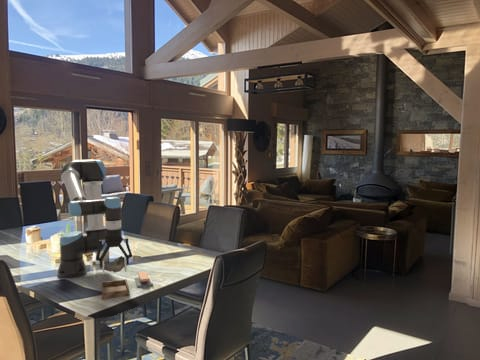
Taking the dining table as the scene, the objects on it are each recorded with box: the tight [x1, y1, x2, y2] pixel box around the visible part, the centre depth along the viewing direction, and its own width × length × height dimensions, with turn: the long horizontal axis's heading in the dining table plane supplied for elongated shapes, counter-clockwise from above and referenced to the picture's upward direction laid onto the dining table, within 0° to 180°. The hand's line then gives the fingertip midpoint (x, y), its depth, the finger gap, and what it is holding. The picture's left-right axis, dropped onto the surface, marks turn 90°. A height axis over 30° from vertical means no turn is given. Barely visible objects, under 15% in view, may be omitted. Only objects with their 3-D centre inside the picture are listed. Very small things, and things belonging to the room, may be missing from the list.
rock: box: [104, 255, 125, 274], centre depth 190 cm, size 11×6×10 cm
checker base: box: [134, 274, 154, 289], centre depth 201 cm, size 8×12×3 cm, turn 22°
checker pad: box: [137, 271, 149, 282], centre depth 201 cm, size 4×11×1 cm, turn 22°
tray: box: [100, 278, 130, 300], centre depth 189 cm, size 13×16×3 cm
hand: (114, 272), depth 188 cm, fingers closed on rock, 10 cm apart
